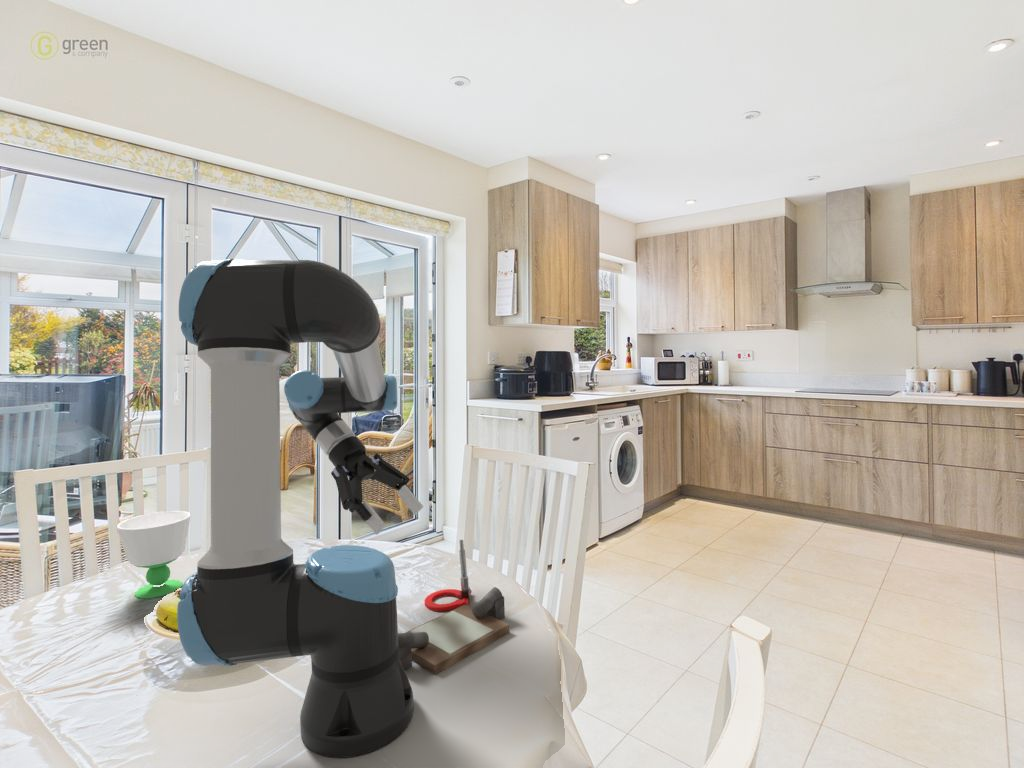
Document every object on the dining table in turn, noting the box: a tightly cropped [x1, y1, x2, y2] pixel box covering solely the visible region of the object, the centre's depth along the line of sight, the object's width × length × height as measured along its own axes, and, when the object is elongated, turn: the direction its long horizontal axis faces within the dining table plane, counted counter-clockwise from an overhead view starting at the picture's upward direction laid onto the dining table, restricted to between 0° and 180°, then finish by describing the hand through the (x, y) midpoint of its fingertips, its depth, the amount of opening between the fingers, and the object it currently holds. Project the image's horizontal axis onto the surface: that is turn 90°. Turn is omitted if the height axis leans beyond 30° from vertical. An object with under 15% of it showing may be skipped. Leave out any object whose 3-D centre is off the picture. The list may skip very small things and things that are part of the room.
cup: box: [116, 510, 191, 600], centre depth 119 cm, size 14×14×16 cm
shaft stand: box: [398, 586, 511, 675], centre depth 95 cm, size 24×12×6 cm, turn 136°
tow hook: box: [424, 539, 472, 612], centre depth 110 cm, size 8×13×9 cm
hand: (401, 520), depth 113 cm, fingers open, 13 cm apart
